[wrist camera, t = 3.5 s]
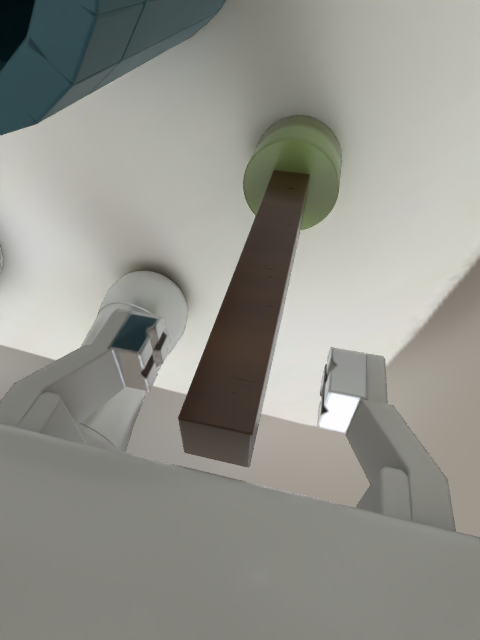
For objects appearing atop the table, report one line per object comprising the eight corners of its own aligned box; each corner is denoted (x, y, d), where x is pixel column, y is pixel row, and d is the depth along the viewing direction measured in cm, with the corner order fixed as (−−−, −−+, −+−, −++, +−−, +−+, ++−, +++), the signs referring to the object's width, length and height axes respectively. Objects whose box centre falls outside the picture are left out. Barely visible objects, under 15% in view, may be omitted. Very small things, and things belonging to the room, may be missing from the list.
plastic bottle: (182, 258, 28) (10, 561, 14) (204, 323, 33) (89, 603, 19) (107, 260, 30) (-109, 531, 16) (138, 321, 35) (-11, 575, 21)
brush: (258, 110, 20) (103, 366, 8) (350, 119, 20) (331, 413, 7) (254, 195, 24) (140, 465, 12) (332, 205, 23) (299, 503, 11)
